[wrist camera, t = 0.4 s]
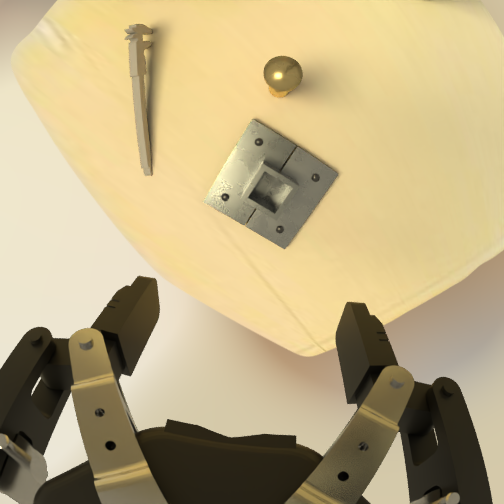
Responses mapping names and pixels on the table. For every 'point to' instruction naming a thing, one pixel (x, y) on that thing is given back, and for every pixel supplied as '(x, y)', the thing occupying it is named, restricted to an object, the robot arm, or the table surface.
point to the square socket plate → (269, 184)
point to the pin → (282, 75)
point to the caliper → (140, 90)
